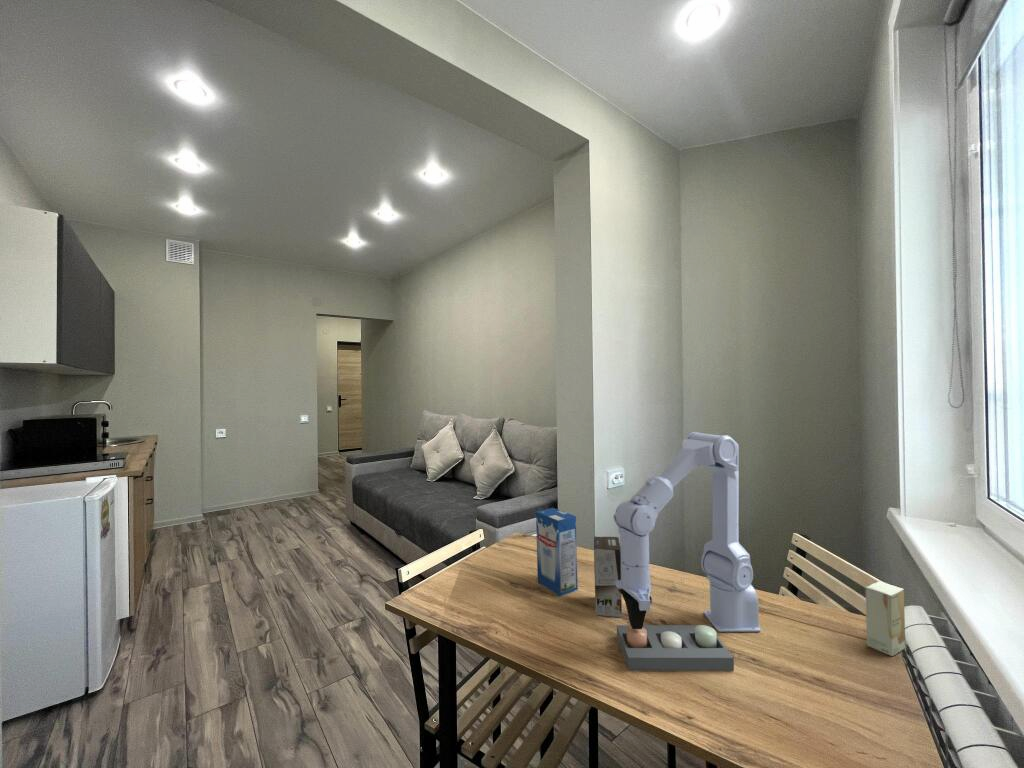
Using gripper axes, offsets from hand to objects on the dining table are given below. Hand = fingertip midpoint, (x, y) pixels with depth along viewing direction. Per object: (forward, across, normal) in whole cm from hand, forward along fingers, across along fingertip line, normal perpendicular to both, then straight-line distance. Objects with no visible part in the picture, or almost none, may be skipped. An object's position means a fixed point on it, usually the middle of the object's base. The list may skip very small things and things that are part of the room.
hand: (636, 627), depth 87 cm
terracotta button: (+4, 0, 0) cm, 4 cm away
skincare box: (+5, -2, +52) cm, 52 cm away
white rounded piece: (+5, 0, +7) cm, 9 cm away
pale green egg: (+4, 0, +14) cm, 14 cm away
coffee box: (+5, -18, -2) cm, 19 cm away
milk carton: (+5, -29, -14) cm, 33 cm away
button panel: (+5, 0, +7) cm, 9 cm away
